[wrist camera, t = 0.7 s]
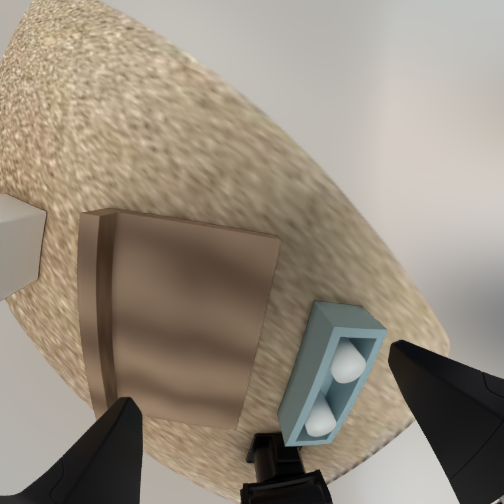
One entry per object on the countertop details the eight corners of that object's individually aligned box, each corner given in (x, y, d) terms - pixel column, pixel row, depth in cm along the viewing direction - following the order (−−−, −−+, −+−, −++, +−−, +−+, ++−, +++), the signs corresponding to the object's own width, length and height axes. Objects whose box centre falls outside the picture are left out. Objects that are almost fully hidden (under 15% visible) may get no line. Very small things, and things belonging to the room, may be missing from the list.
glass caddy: (318, 413, 27) (332, 446, 21) (277, 413, 26) (286, 449, 21) (361, 306, 24) (390, 332, 18) (313, 300, 23) (336, 329, 18)
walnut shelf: (235, 416, 26) (237, 450, 21) (111, 393, 24) (97, 423, 19) (276, 235, 22) (290, 248, 17) (109, 207, 20) (79, 213, 15)
